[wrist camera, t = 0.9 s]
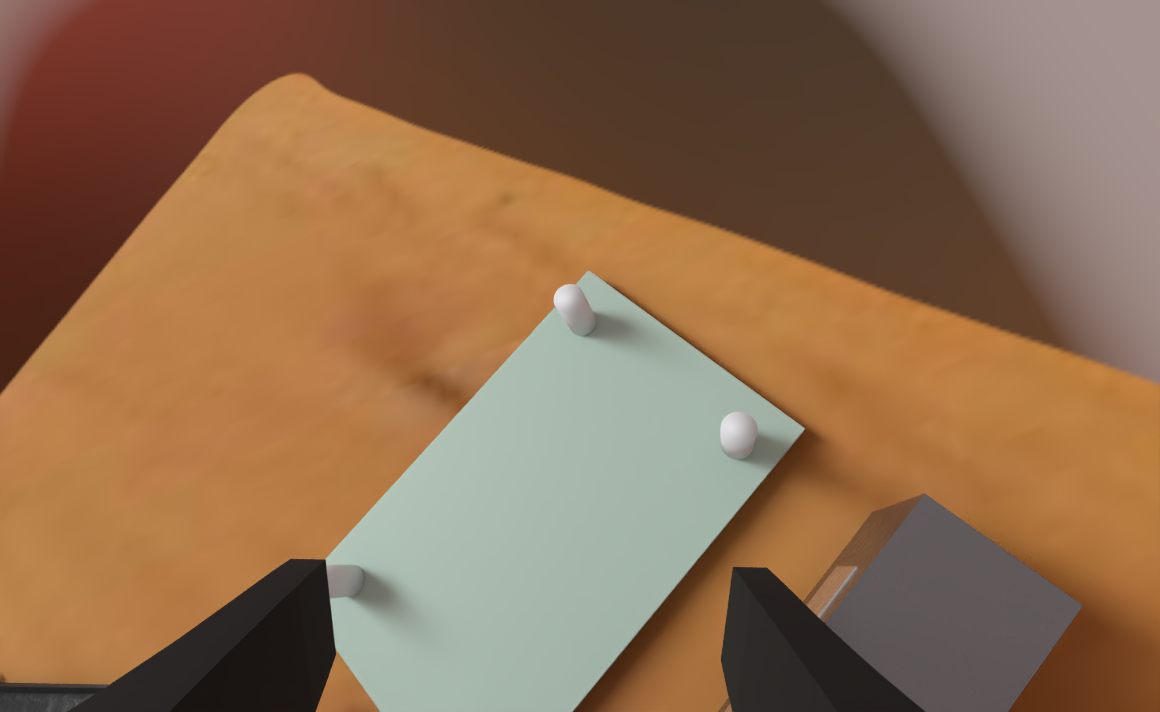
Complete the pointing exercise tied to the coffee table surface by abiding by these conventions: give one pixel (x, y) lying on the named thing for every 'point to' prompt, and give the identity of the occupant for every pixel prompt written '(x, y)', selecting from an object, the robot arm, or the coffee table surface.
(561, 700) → the pin tray
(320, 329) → the coffee table surface
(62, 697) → the phone
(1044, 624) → the block
